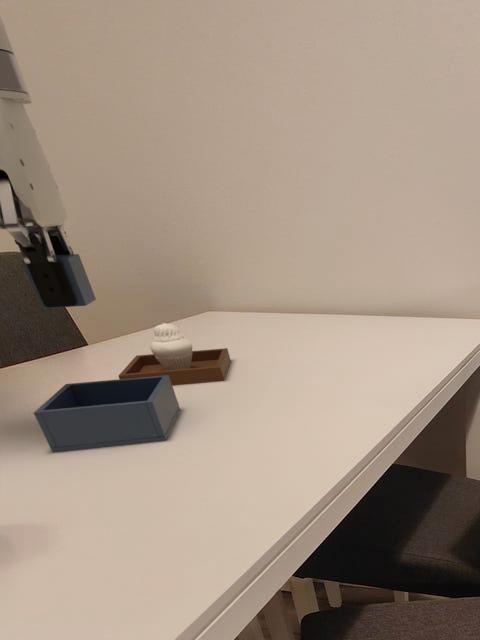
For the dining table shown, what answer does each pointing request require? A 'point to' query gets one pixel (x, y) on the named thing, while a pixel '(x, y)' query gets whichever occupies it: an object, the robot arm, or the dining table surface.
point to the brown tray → (201, 369)
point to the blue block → (70, 280)
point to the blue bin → (109, 413)
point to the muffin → (171, 347)
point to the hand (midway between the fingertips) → (67, 300)
